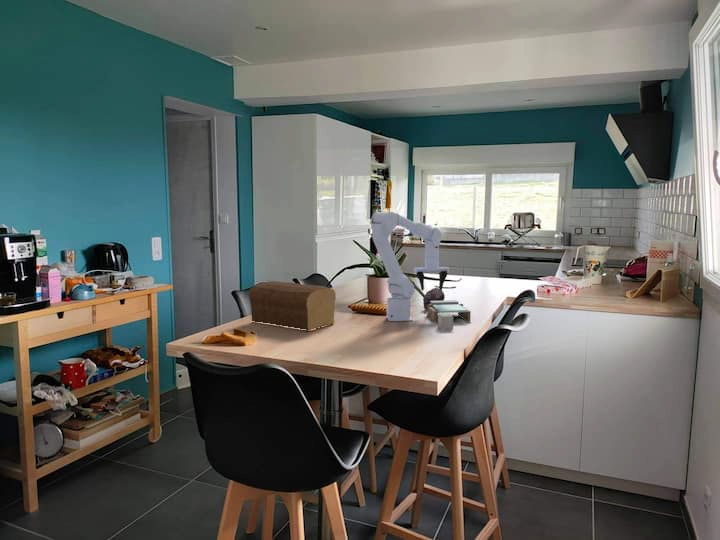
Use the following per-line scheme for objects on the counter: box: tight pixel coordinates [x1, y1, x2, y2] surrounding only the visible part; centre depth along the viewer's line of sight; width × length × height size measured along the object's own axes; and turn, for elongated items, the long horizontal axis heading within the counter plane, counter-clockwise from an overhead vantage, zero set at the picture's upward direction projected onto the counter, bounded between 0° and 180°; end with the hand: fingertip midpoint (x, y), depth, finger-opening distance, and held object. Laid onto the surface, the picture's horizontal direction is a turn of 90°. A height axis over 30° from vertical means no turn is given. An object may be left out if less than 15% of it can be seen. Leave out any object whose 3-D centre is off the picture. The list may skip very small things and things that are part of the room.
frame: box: [426, 303, 472, 323], centre depth 218 cm, size 14×14×5 cm
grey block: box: [437, 313, 454, 330], centre depth 201 cm, size 4×4×5 cm
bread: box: [248, 280, 337, 330], centre depth 210 cm, size 18×30×16 cm, turn 55°
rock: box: [422, 287, 446, 311], centre depth 238 cm, size 12×9×10 cm
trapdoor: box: [430, 299, 467, 314], centre depth 218 cm, size 17×11×2 cm, turn 5°
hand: (431, 289), depth 225 cm, fingers open, 7 cm apart
